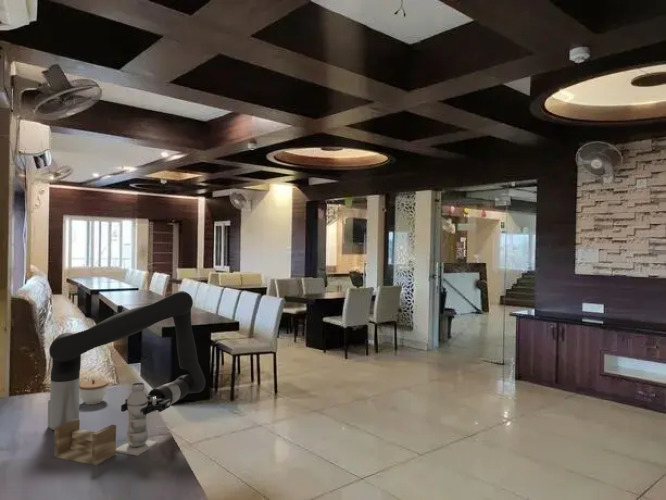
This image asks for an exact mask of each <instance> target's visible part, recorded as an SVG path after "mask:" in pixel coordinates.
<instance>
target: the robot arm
mask: <svg viewBox="0 0 666 500" xmlns="http://www.w3.org/2000/svg"><path fill="white" fill-rule="evenodd" d="M193 304H194V301H193V297H192V296H191V294H190V293H189V292H187V291H184V290H177V291H175V292H173V293H171V294H169V295H168V296H166V297H163V298H161V299H160V300H158V301H154V302H153V303H149V304H145V305H141V306H138V307H135V308H134V307H133V308H131V309H127V310H125V311H122V312H120V313H117V314H114V315H112V316H109V317H107V318H105V319H104V320H102V321H100V322H99V323H97V324H95V325H93V326H91V327H89V328H87V329H85V330H81V331H78V332H76V333H72V332H65V333H61V334H59V335H58V336H57V337H56V338H55V339H53V341H52V342H51V343H50V346H49V350H48V352H49V356H50V357H51V358H52V364H51V371H50V393H49V394H50V397H49V398H50V399H49V400H47V401H48V402H47V428H49V429H50V430H52V431H55V427H57V426H60V425H62V424H65V423H67V422H69V421H72V420H74V419H79V420H80V394H79V385H80V384H81V382H80V375H81V367H82V366H81V363H82V361H81V360H82V355H83V354H84V353H87V352H89V351H91V350H94V349H95V348H98V347H101V346H104V345H108V344H111V343H114V342H116V341H119V340H122V339H125V338H128V337H130V336H133V335H135V334H137V333H139V332H142V331H143V330H145V329H146V330H147V328H150V327H152V326H153V325H155V324H157V323H159V322H161V321H164V320H168V319H171V318H172V319H173V323H174V329H175V337H176V350H177V359H178V365H179V368H180V369H181V370H185V371H188V373H189V374H184V375H180V376H179V377H177V378H176V379H175V380H173V381H171V382H169V383H165V384H162V385H159V386H157V387H155V388H153V389H151V390H150V391H149V393H148V394H146V395H147V397H148V406H147V407H145V408H143V415H146V416H147V415H149V414H150V413H156V412H158V413H162V412H163V411H165V410H167V409H170V407H171V405H172V404H174V403H176V402H177V401H180V400H181V399H183V398H185V397H186V396H187V395H188V394H195V393H201V392H203V390H205V388H206V377H205V374H204V373H203V370H202V368H201V365H200V363H199V361H198V359H199V358H198V354H197V353H198V352H197V345H196V341H195V336H194V332H193V326H192V308H193ZM127 399H128V398H126V399H125V402H124V403H122V404H121V405H120V411H121V412H123V413H124V412H126V411H128V407H127Z"/></svg>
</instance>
